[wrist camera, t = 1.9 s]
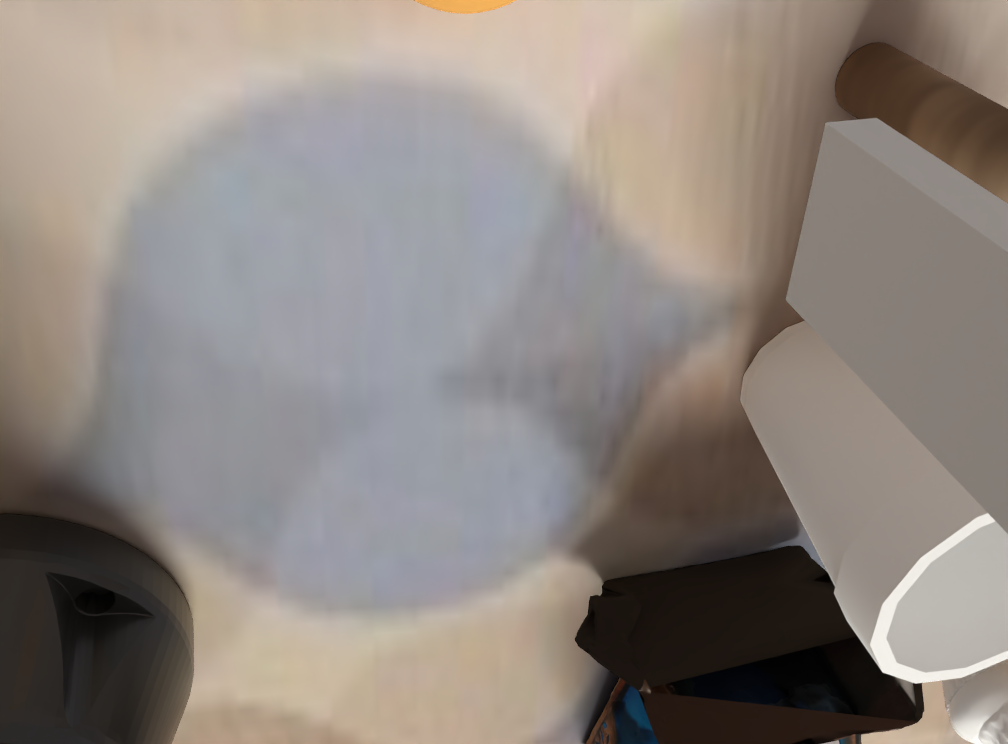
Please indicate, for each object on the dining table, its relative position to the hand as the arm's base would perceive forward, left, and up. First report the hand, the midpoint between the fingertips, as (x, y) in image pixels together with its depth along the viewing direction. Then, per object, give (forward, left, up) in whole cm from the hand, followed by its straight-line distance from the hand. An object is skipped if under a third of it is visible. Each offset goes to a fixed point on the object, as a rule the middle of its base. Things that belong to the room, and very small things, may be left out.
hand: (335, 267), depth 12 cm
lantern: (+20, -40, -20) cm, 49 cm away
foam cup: (+22, -18, -20) cm, 35 cm away
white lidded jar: (+40, -43, -20) cm, 63 cm away
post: (+21, -5, -19) cm, 29 cm away
